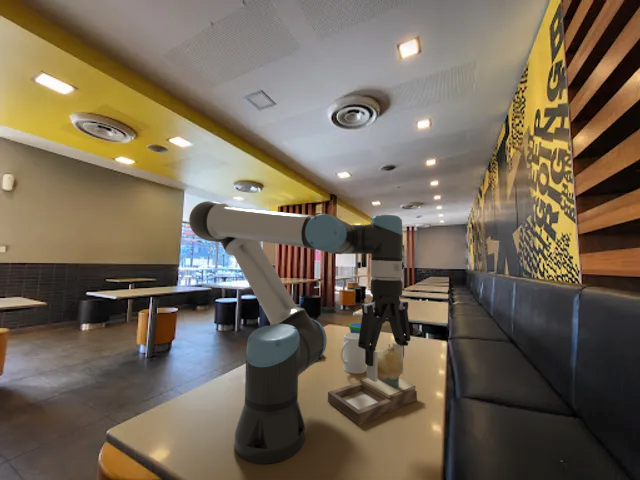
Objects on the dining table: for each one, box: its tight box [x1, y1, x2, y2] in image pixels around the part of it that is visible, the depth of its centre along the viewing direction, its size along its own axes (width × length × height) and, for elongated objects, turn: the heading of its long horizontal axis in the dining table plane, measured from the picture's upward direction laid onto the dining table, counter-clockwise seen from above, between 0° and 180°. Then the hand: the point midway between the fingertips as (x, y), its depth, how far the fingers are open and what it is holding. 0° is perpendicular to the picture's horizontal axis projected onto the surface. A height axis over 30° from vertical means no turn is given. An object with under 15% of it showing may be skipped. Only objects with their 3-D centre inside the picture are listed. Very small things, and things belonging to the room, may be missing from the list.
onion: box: [375, 344, 404, 381], centre depth 63 cm, size 8×8×7 cm
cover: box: [362, 376, 416, 398], centre depth 79 cm, size 11×11×4 cm
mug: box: [340, 332, 367, 375], centre depth 97 cm, size 12×8×12 cm
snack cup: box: [348, 322, 361, 334], centre depth 124 cm, size 16×10×10 cm
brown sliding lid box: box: [327, 376, 418, 426], centre depth 75 cm, size 22×13×4 cm, turn 123°
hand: (385, 375), depth 63 cm, fingers closed on onion, 8 cm apart
